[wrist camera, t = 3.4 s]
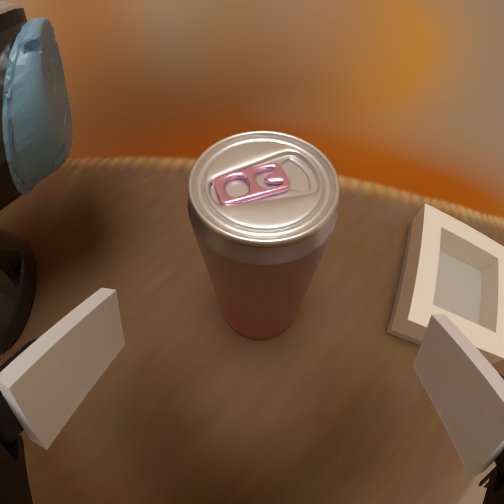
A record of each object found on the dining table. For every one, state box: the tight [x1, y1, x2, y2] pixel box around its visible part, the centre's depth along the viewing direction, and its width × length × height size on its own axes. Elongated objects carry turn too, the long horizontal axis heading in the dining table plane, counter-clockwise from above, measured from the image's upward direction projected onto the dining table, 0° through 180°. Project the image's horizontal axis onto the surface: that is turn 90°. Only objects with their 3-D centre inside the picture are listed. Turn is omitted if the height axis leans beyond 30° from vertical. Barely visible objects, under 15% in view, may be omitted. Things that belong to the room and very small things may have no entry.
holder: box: [387, 204, 504, 364], centre depth 21 cm, size 12×12×4 cm
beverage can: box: [188, 131, 340, 339], centre depth 17 cm, size 6×6×15 cm
